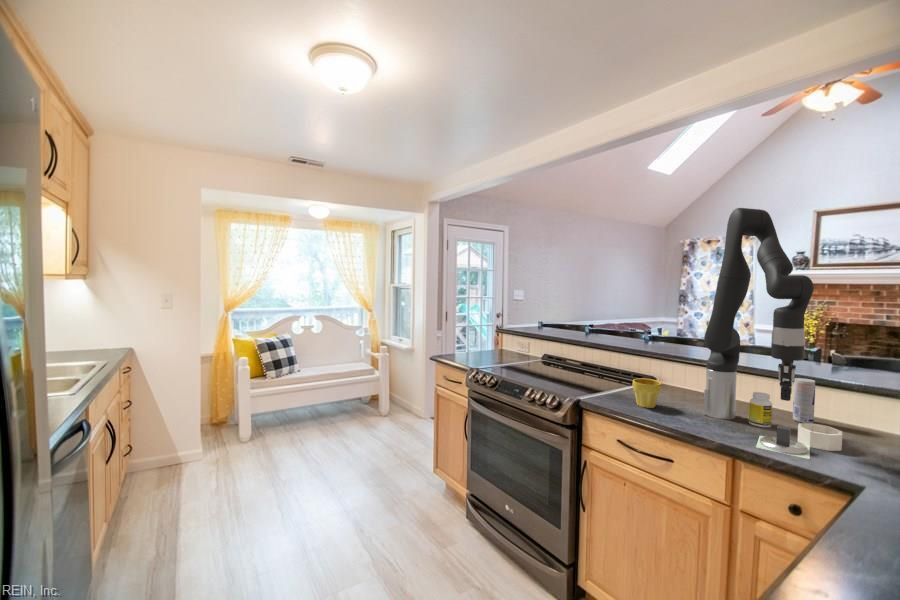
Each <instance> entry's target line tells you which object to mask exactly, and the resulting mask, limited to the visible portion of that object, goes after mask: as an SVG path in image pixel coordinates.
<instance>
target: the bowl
mask: <svg viewBox="0 0 900 600" xmlns="http://www.w3.org/2000/svg"><path fill="white" fill-rule="evenodd" d="M796 442H798V443H800V444H803V445H807V446H809V447H810V448H812V449H813V448H814V449H817V450H821V451H827V452H832V451H833V452H835V451H838V452H840V451H842V450H843V431H842V430H840V429H837V428H834V427H832V426H829V425H825V424H818V423H814V422H813V423H802V422H799V423H798V425H797V441H796Z"/></svg>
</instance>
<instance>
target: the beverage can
mask: <svg viewBox="0 0 900 600" xmlns="http://www.w3.org/2000/svg"><path fill="white" fill-rule="evenodd" d="M793 382H794V383H793V403H792V404H793V405H792V406H793V407H792V419H793V420H794V421H796V422H799V423H814V422H815V401H816V400H815V399H816V380H813V379H808V378H801V377H799V378H798V377H794V381H793Z"/></svg>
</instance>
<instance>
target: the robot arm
mask: <svg viewBox="0 0 900 600" xmlns="http://www.w3.org/2000/svg"><path fill="white" fill-rule="evenodd" d="M744 236H746V237H756V238H757V240H759V242H760V244H759V246H758V249H757V251H756V259H757V262H758V265H759V266H760V267H761V269H762V271H763V273H764V277H765V287H766V289H765V290H766V293H767V294H768V295H769V296H770V297H771V298H773V299H776V300H790V302H789V303H788V305H785V306H781V307H776V308H775V309H774V310H773V314H772V315H773V316H772V317H773V319H772V321H773V322H772V332H771V343H770V344H771V345H770V348H771V350H770V351H771V352H770V356H771V357H772V358H773V359H776V360H781V363H778V365H777V370H778V380H779V387H780V400H781V401H785V402H789V401H791V400H792V399H791V394H792V392H793V391H792V390H793V389H792V388H793V383H792V382H794V381H795V375H796V374H795V373H796V372H797V371H796V369H797V365H796V364H794V362H795V361H796V362H797V361H798V362H799V361H804V359H805V347H806V346H805V345H806V344H805V343H806V342H805V341H806V334H805V315H806V312H807V308H808V306H809V303H810V301H811V298H812V296H813V292H814V289H815V286H814V283H813V281H812V279H811V278H810V277H809V276H807V275H804V274H803V275H802V274H798V275H797V274H796V275H790V274H791V273H792V272H793V270H794V265H793V263H792V262H791V260H790V259H789V257H788V256H787V253H786V252H785V250H784V249H783V247H782V246H781V244H780V243H781V242H780V241H779V238H778V237H779V236H778V234H777V230H776V228H775V225H774V220H773V218H772V216H771V215H770V213H769V212H768V211H767V210H765V209H760V208H759V209H758V208H748V207H737V208H734V210H733V211H732V212H731V213H730V215H729V218H728V220H727V224H726V233H725V243H724V252H723V257H722V262H721V267H720V271H719V273H718V277H717V278H718V279H717V282H716V283H717V284H716V290H715V295H714V300H713V305H712V312H711V315H710V318H709V321H708V324H707V327H706V330H705V332H704V337H703V341H704V344H705V346H706V347H707V349H708V350H709V351H710V354H709V357H708V359H707V360H706V372H705V389H704V392H703V393H704V394H703V395H704V397H703V415H704V416H707V417H711V418H715V419H720V420H733V419H735V418H736V404H737V403H736V401H737V400H736V398H737V396H736V395H737V369H738V365H739V362H740V354H741V335H740V334H739V332H738V331H737V329H735V328H734V325H735V319H736V316H737V313H738V311H739V310H740V308H741V306H742V304H743V303H744V300H745V298H746V297H747V294H748V291H749V286H750V282H751V277H752V273H751V270H750V266H749V264H748V262H747V260H746V257H745V255H744V252H743V237H744Z"/></svg>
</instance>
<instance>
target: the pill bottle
mask: <svg viewBox="0 0 900 600" xmlns="http://www.w3.org/2000/svg"><path fill="white" fill-rule="evenodd" d="M770 399H771V396H770V394H769V393H766V392H761V391H753V392H752V398H751V399H750V400H749V407H748V408H749V413H748V414H749V415H748V424H749V425H752V426H755V427H761V428H771V427H772V420H773V417H772V415H773V414H772V413H773V403H772V401H770Z"/></svg>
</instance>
